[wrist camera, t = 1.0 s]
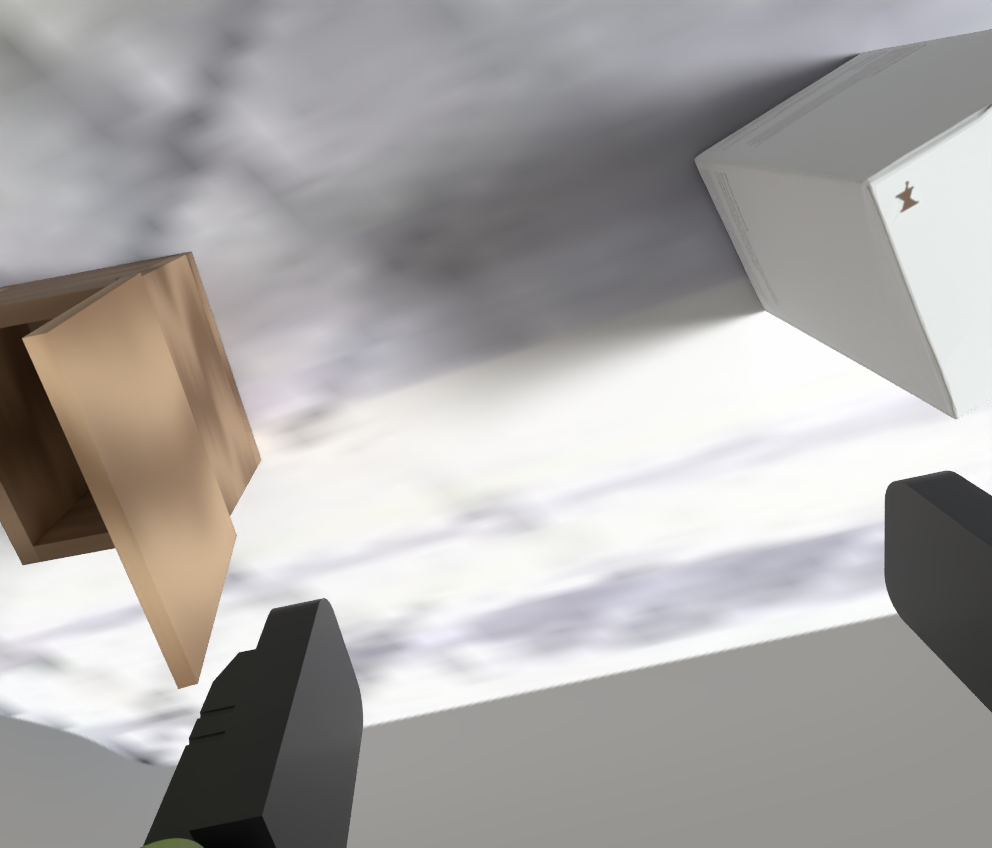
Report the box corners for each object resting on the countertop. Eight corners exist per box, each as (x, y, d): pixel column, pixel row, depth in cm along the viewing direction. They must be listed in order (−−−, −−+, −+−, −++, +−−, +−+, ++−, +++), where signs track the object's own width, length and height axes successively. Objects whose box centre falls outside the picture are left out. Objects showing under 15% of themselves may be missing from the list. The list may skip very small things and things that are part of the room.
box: (3, 287, 34) (-100, 324, 28) (191, 251, 34) (131, 281, 28) (94, 490, 38) (22, 565, 32) (261, 460, 38) (223, 528, 32)
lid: (7, 341, 18) (46, 333, 18) (116, 276, 27) (142, 271, 27) (167, 691, 23) (197, 683, 23) (215, 536, 32) (237, 531, 32)
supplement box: (762, 317, 37) (950, 432, 23) (688, 157, 34) (855, 180, 20) (930, 221, 36) (1237, 282, 22) (869, 44, 32) (1184, -14, 19)
